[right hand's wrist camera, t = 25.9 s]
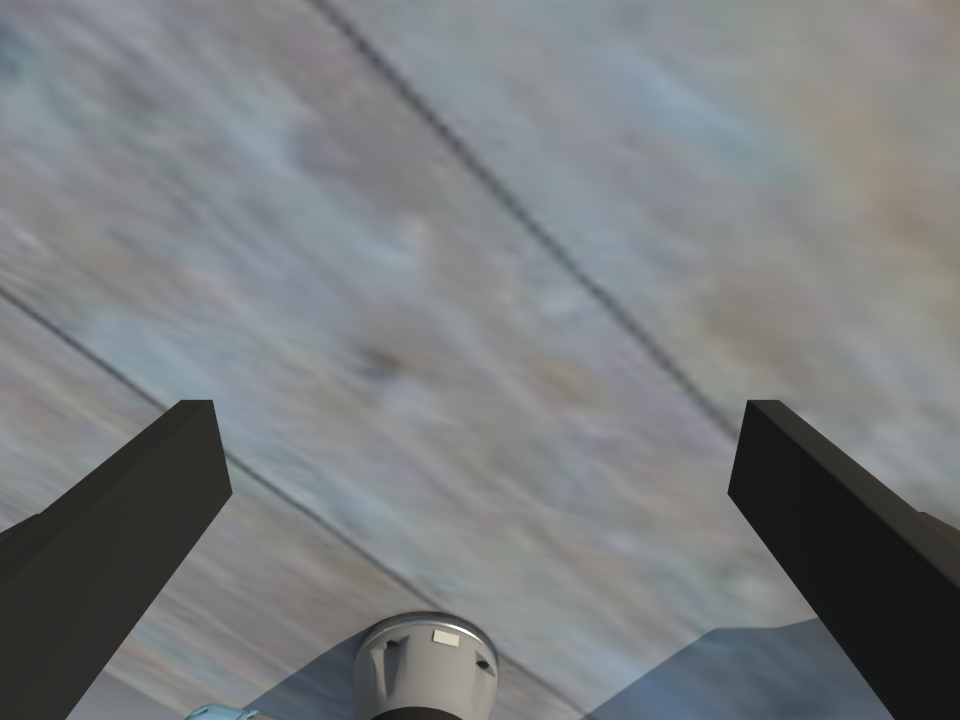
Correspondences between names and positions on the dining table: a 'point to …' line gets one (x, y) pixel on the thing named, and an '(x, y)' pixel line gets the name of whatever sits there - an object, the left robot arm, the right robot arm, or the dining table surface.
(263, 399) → the dining table surface
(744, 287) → the dining table surface
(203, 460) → the right robot arm
